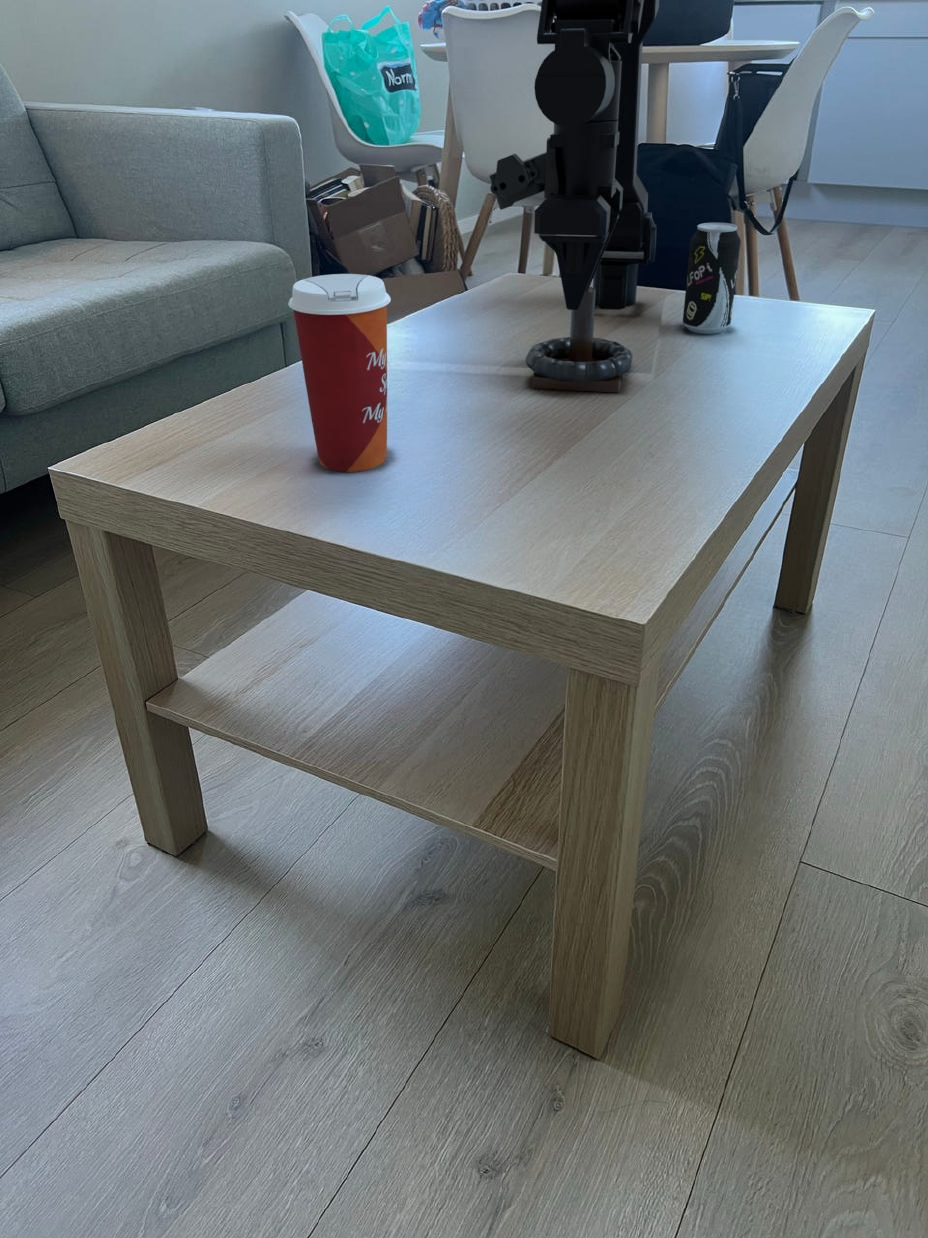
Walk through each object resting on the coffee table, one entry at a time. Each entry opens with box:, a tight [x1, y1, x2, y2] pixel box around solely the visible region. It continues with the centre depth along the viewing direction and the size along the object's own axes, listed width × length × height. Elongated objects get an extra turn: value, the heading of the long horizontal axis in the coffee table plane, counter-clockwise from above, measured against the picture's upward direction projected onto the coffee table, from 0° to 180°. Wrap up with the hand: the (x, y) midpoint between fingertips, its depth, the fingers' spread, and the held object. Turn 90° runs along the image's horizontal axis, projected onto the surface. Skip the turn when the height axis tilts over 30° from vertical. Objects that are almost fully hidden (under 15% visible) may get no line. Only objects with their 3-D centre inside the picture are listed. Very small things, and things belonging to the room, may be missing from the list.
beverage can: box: [682, 222, 742, 335], centre depth 115 cm, size 6×6×12 cm
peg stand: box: [531, 286, 624, 394], centre depth 100 cm, size 9×9×9 cm
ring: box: [525, 336, 633, 382], centre depth 101 cm, size 11×11×2 cm
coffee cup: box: [288, 273, 392, 473], centre depth 81 cm, size 8×8×15 cm
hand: (577, 300), depth 94 cm, fingers open, 8 cm apart
